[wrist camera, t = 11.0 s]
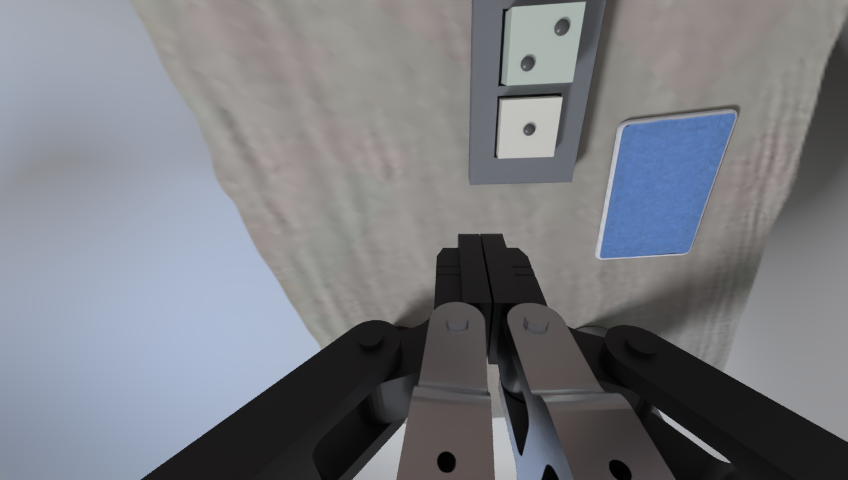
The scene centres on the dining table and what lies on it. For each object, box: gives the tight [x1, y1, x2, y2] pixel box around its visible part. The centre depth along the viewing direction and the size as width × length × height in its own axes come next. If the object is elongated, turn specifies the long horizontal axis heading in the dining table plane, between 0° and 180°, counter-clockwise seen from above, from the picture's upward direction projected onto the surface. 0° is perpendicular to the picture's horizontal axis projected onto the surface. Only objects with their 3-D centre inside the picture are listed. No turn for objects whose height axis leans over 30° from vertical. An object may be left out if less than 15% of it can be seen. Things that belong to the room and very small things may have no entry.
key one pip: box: [494, 94, 563, 159], centre depth 35 cm, size 6×6×4 cm
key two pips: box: [501, 2, 586, 86], centre depth 29 cm, size 6×6×4 cm
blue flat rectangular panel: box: [595, 109, 738, 260], centre depth 40 cm, size 19×13×1 cm, turn 7°
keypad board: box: [469, 0, 606, 185], centre depth 32 cm, size 12×28×3 cm, turn 3°
